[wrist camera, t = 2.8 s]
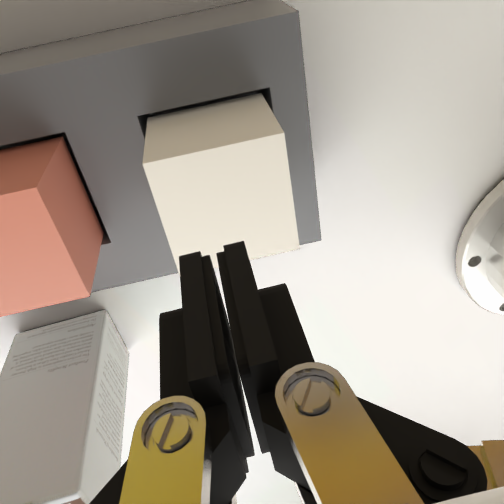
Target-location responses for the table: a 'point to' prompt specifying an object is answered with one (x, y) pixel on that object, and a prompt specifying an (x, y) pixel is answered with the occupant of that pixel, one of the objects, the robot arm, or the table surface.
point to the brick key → (44, 228)
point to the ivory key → (222, 179)
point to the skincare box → (62, 411)
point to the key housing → (156, 112)
